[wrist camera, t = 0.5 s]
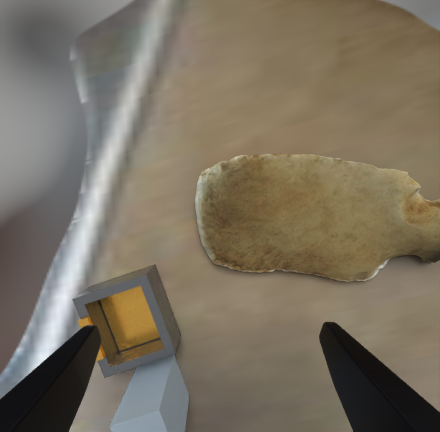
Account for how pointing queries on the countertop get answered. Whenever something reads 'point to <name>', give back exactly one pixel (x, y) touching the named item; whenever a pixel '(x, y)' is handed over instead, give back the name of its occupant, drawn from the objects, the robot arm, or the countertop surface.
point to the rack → (130, 320)
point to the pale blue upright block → (154, 399)
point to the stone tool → (313, 216)
